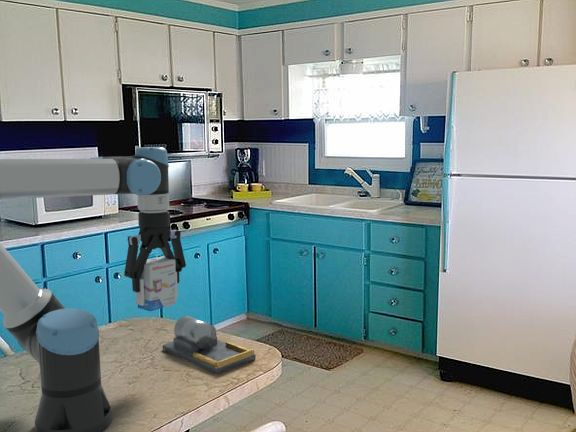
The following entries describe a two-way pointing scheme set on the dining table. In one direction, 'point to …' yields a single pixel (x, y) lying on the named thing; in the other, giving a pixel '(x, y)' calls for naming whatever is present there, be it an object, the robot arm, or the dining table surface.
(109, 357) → the dining table surface
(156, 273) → the ink box
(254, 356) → the motor unit
